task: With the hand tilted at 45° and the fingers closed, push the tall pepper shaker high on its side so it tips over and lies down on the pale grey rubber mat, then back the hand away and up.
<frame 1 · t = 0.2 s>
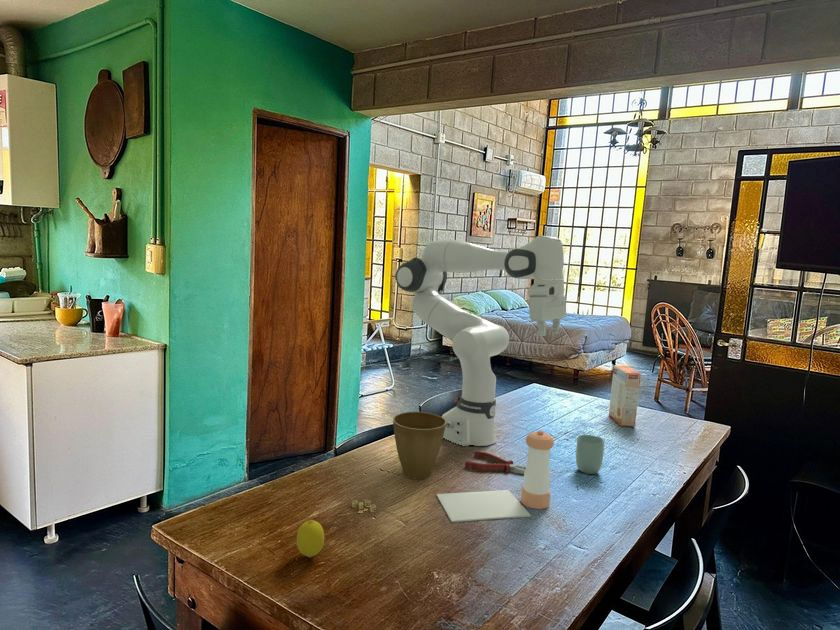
hand: (549, 334, 169), 39 cm above the table, tool pointing down, fingers open, 8 cm apart
plant pot: (416, 474, 157), on the table
lemon: (309, 558, 113), on the table
dice set: (364, 511, 135), on the table
cup: (587, 472, 165), on the table
pepper shaker: (534, 503, 143), on the table
cracker box: (621, 421, 217), on the table
pliers: (496, 471, 163), on the table
mat: (481, 505, 139), on the table
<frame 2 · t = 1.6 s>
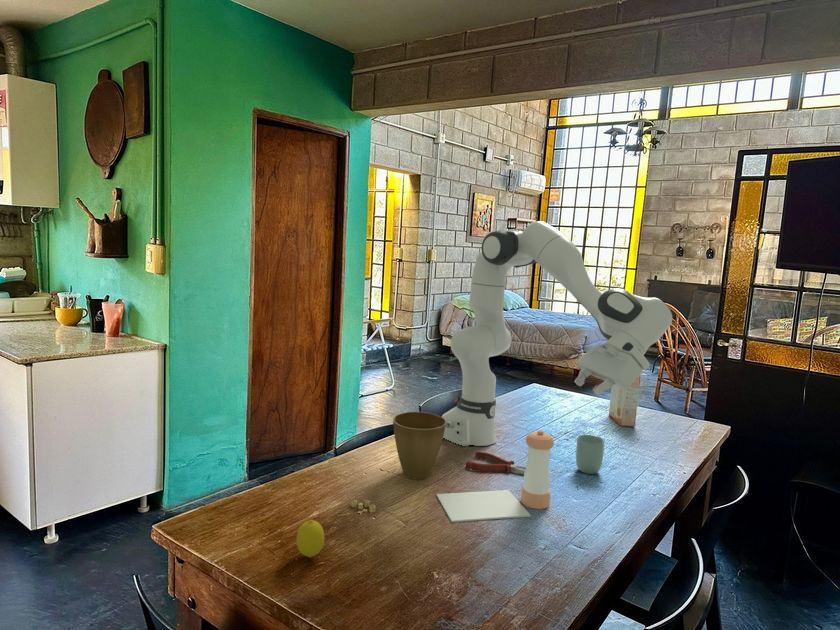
hand: (585, 388, 141), 30 cm above the table, tool tilted 45°, fingers open, 8 cm apart
nothing on the table moved.
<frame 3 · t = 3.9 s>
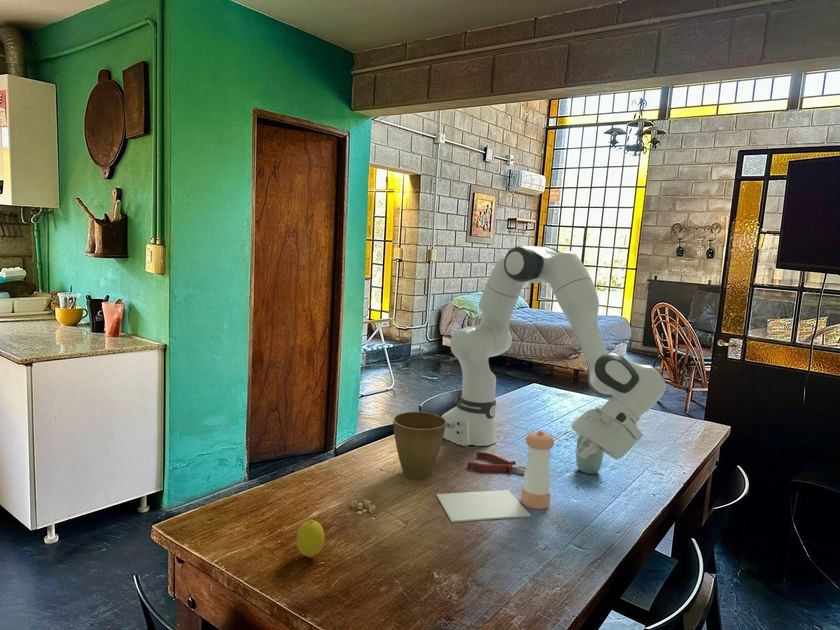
hand: (579, 455, 144), 12 cm above the table, tool tilted 45°, fingers closed
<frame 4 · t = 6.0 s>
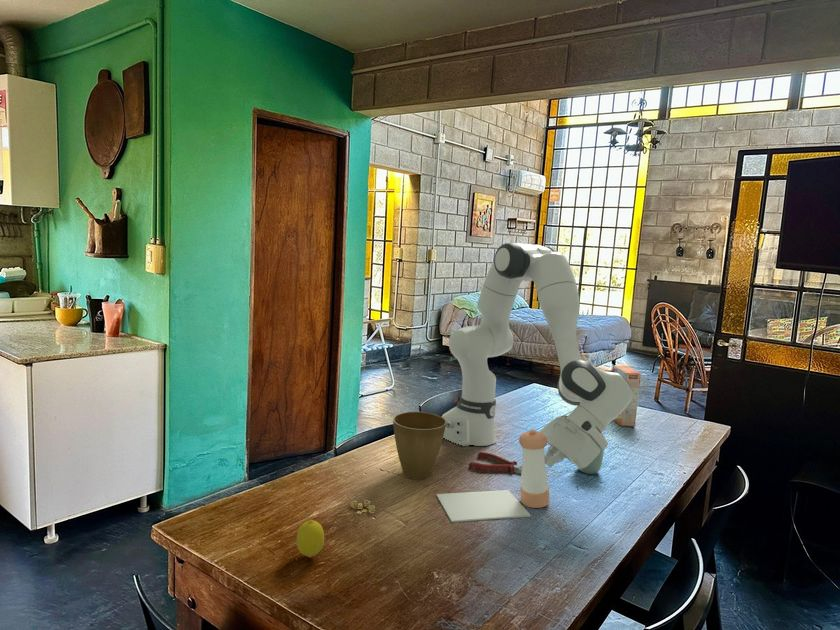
hand: (545, 463, 142), 10 cm above the table, tool tilted 45°, fingers closed
pepper shaker: (535, 501, 143), on the table, touching gripper
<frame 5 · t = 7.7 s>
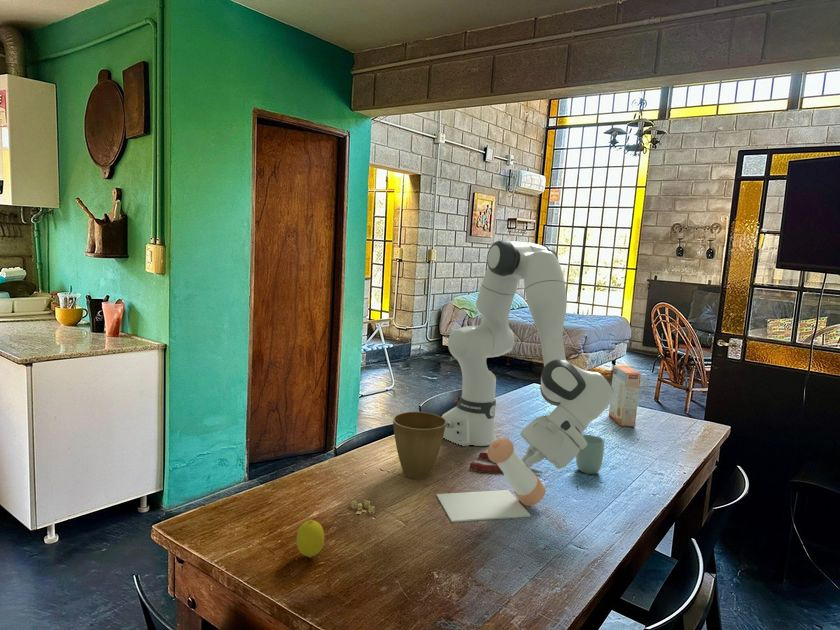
hand: (525, 463, 140), 11 cm above the table, tool tilted 45°, fingers closed, pressing on pepper shaker
pepper shaker: (533, 494, 142), point 2 cm above the table, touching gripper
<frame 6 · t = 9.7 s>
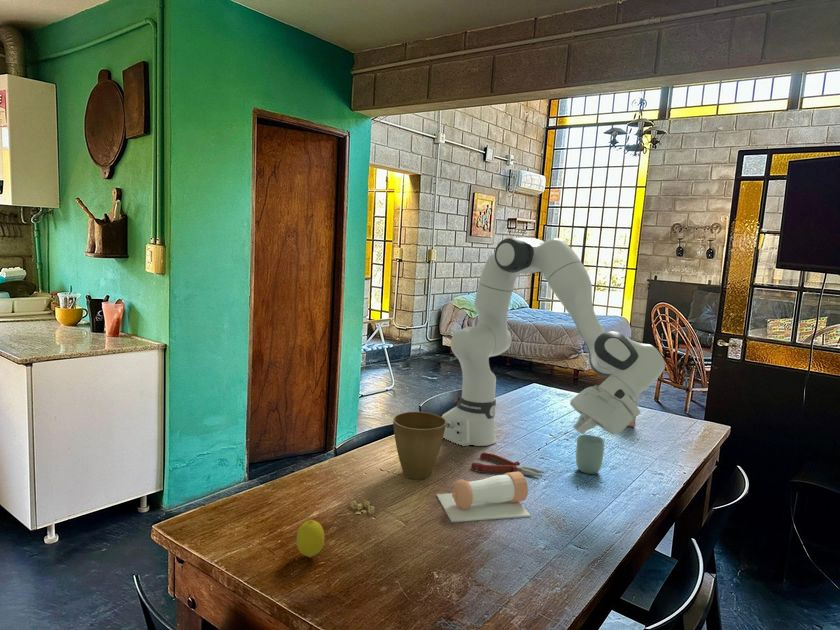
hand: (577, 430, 146), 18 cm above the table, tool tilted 45°, fingers closed
pepper shaker: (520, 485, 143), point 4 cm above the table, touching mat
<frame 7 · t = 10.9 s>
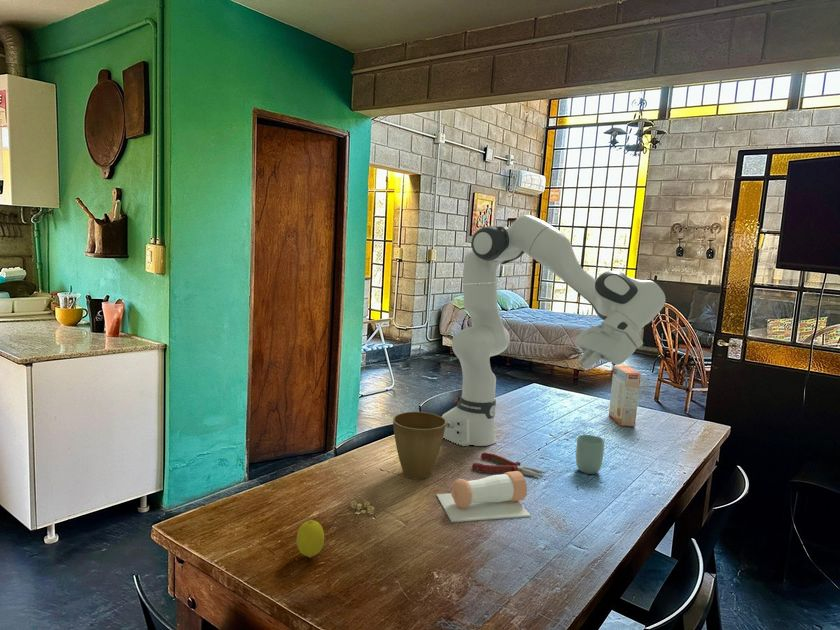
hand: (582, 365, 149), 34 cm above the table, tool tilted 45°, fingers closed
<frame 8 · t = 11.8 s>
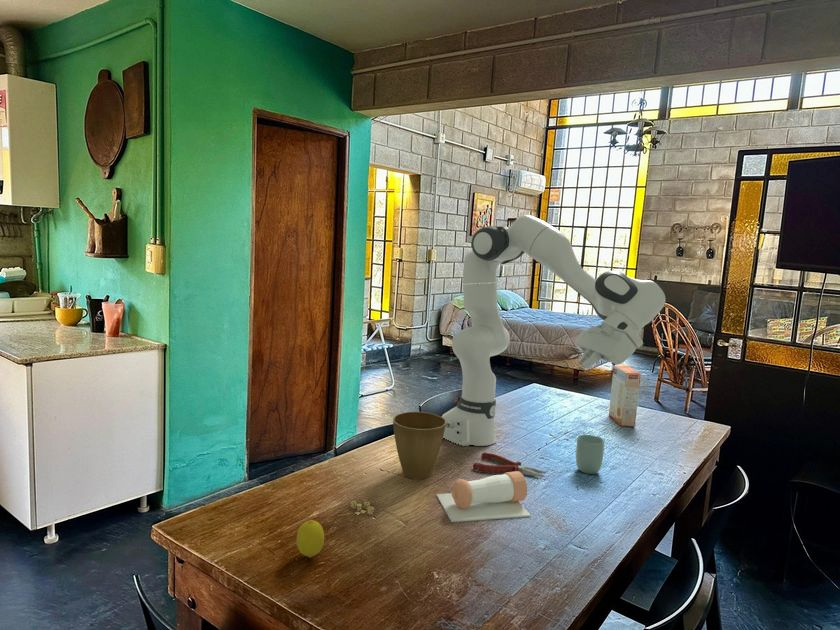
hand: (582, 365, 149), 34 cm above the table, tool tilted 45°, fingers closed
at the end: pepper shaker tilted 90°; pepper shaker touching mat; pepper shaker 10.9 cm from the mat (horizontally) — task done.
